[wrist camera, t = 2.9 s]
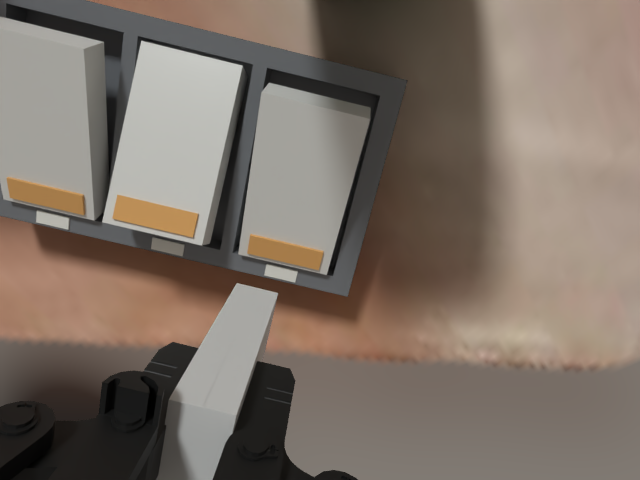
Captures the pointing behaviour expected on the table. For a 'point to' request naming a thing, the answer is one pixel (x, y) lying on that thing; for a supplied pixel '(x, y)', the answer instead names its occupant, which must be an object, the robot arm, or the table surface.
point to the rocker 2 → (175, 144)
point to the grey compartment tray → (261, 68)
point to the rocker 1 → (53, 120)
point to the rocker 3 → (300, 176)
